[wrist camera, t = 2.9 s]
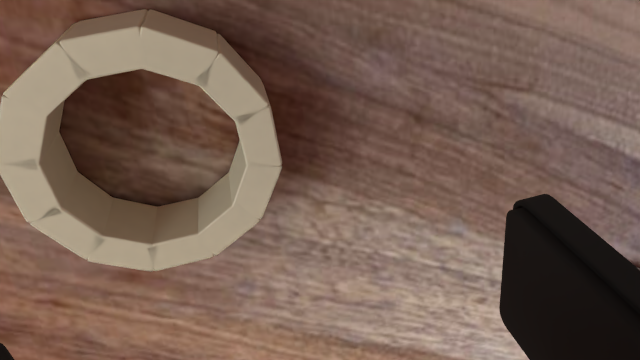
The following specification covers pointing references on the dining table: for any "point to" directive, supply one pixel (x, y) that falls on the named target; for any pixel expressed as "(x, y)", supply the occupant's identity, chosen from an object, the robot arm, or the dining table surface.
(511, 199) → the dining table surface
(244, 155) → the tape roll
